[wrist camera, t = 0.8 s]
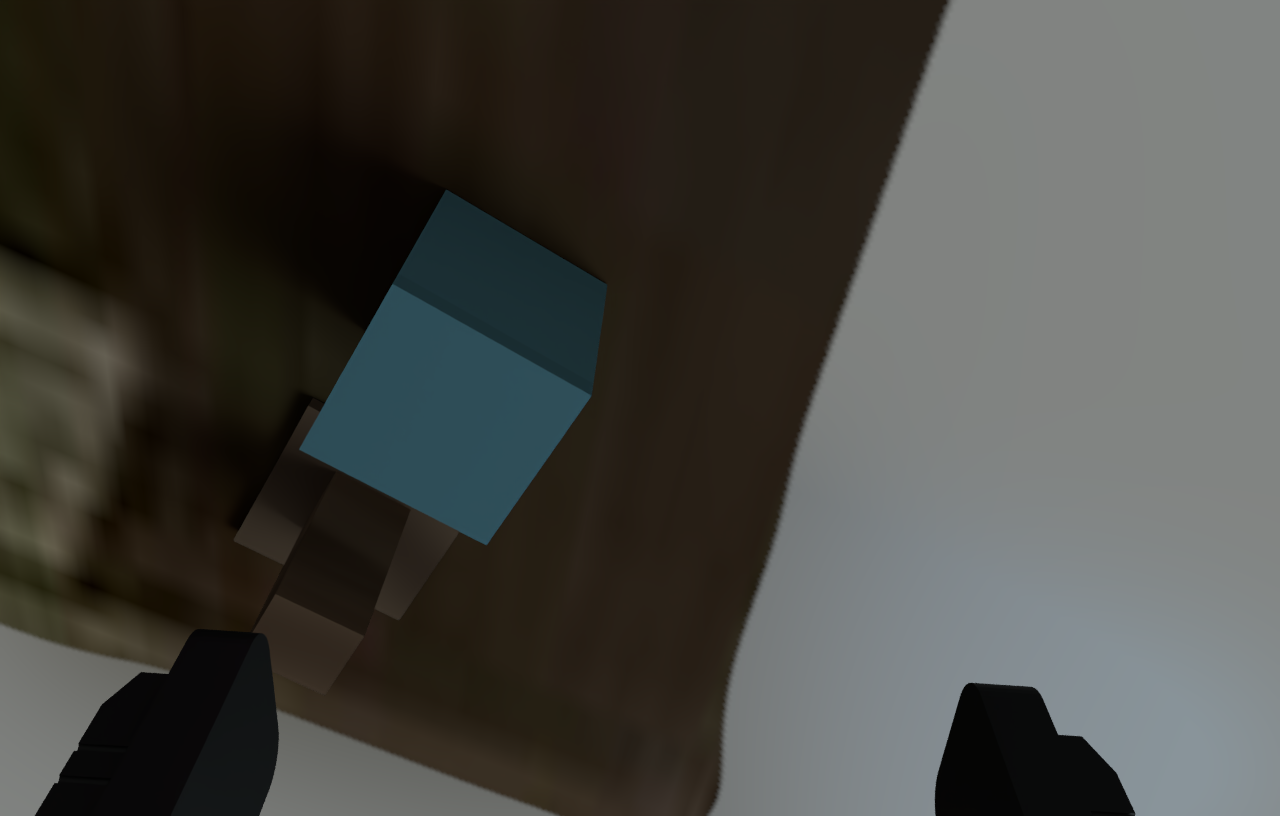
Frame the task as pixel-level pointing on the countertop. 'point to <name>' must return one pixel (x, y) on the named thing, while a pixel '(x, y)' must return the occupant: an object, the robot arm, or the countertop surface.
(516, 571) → the countertop surface
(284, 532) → the dark stepped block
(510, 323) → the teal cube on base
